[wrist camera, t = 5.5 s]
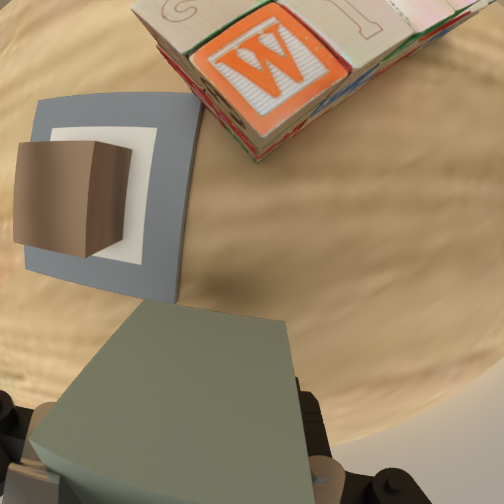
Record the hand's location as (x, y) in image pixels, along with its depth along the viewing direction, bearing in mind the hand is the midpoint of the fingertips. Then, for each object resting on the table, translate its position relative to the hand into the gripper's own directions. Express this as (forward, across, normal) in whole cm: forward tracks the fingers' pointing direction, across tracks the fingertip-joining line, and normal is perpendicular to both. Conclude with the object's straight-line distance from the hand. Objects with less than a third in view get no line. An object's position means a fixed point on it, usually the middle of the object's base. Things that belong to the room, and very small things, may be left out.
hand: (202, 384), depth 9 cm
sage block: (+1, 0, 0) cm, 1 cm away
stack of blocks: (+11, -5, -18) cm, 22 cm away
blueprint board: (+11, +10, -5) cm, 16 cm away
